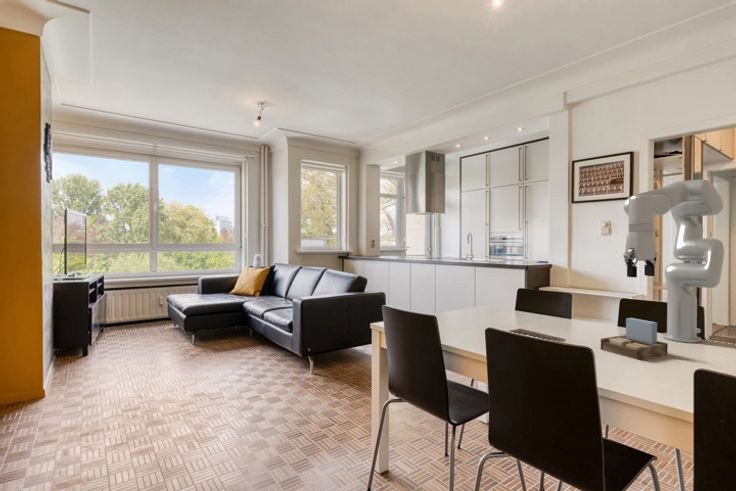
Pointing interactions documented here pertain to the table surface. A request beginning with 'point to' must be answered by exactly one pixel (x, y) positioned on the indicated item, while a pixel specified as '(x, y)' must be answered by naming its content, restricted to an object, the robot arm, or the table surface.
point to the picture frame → (537, 335)
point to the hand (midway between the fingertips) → (640, 276)
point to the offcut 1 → (620, 341)
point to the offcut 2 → (634, 345)
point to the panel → (641, 330)
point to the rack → (638, 354)
